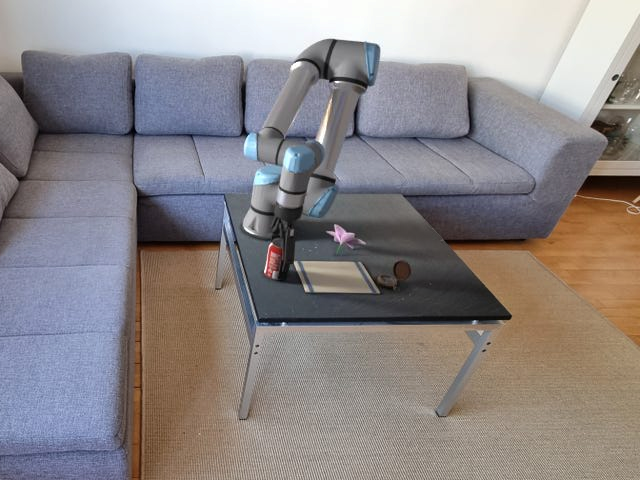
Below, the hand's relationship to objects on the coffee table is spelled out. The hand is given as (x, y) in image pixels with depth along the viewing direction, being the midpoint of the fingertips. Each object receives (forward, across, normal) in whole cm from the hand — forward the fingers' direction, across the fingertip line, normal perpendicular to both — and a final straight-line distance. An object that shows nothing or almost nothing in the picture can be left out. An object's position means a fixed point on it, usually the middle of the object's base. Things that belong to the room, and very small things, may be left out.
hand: (277, 265), depth 136 cm
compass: (+4, -4, -34) cm, 35 cm away
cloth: (+4, -1, -18) cm, 19 cm away
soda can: (+4, 0, 0) cm, 4 cm away
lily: (+4, +15, -25) cm, 30 cm away
